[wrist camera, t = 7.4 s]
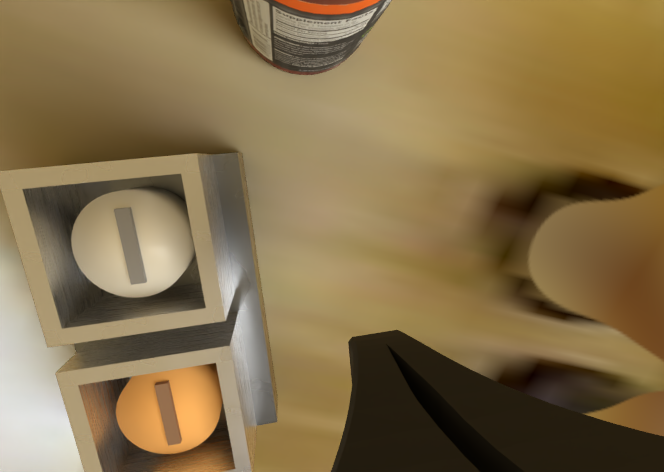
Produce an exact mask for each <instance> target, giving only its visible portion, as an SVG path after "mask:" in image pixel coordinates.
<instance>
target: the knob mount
mask: <svg viewBox="0 0 664 472" xmlns="http://www.w3.org/2000/svg"><path fill="white" fill-rule="evenodd" d="M136 187H156V188H161V189H164V190H167V191H169V192H171V193H174V194H175V195H177V196H178V197H180V198H181V199H182V200H184V201H185V202H186V203H187V208H188V214H189V219H190V225H191V230H192V236H193V241H194V246H195V252H196V257H195V259H194V260H193V262H192V263H191V264H190V265H189V267H188V268H187V269H186V270H185V271H184V273H183V274H182V275H181V276H180V277H179V279H178V280H177V281H176V282H175V283H174V284H172V285H171V286H170V287H169V288H167V289H165V290H164V291H162V292H160V293H157V294H154V295H151V296H147V297H138V298H132V297H123V296H118V295H115V294H112V293H109V292H107V291H105V290H103V289H101V288H99V287H98V286H97V285H95V284H94V283H93V282H91V281H90V280H89V279H88V278H87V277H86V276H85V275H84V273H83V272H82V271H81V269H80V268H79V266H78V264H77V262H76V260H75V257H74V254H73V250H72V243H71V237H72V230H73V226H74V223H75V221H76V219H77V217H78V215H79V214H80V212H81V211H82V210H83V209H84V208H85V206H87V205H88V204H89V203H90V202H91V201H93V200H94V199H96V198H98V197H100V196H102V195H104V194H107V193H111V192H115V191H120V190H126V189H131V188H136ZM0 189H1V192H2V196H3V199H4V202H5V206H6V209H7V212H8V216H9V219H10V223H11V226H12V229H13V233H14V236H15V239H16V243H17V246H18V249H19V253H20V256H21V260H22V263H23V266H24V270H25V273H26V276H27V280H28V283H29V286H30V290H31V293H32V297H33V300H34V303H35V307H36V310H37V313H38V317H39V320H40V323H41V327H42V330H43V334H44V337H45V340H46V344H47V347H54V346H61V345H68V344H74V345H75V349H76V352H77V353H76V354H75V355H74V356H73V357H72V358H71V359H70V360H69V361H67V362H66V363H65V364H64V365H63V366H62V367H61V368H60V369H59V370H58V371H57V372H56V373H55V374H56V377H57V381H58V384H59V387H60V391H61V394H62V397H63V401H64V404H65V407H66V411H67V414H68V418H69V421H70V424H71V428H72V431H73V434H74V438H75V441H76V444H77V448H78V451H79V455H80V458H81V461H82V465H83V468H84V471H85V472H253V468H254V455H255V442H256V429H257V425H262V424H268V423H273V422H277V391H276V384H275V377H274V370H273V363H272V356H271V349H270V342H269V335H268V329H267V322H266V315H265V308H264V301H263V294H262V287H261V280H260V273H259V267H258V260H257V253H256V246H255V239H254V232H253V225H252V218H251V211H250V205H249V198H248V191H247V184H246V177H245V170H244V163H243V156H242V153H238V152H236V153H225V154H214V155H211V154H200V153H194V154H183V155H172V156H161V157H150V158H139V159H128V160H117V161H106V162H94V163H83V164H72V165H61V166H50V167H39V168H28V169H17V170H6V171H0ZM212 363H216V366H217V371H218V377H219V382H220V388H221V393H222V398H223V403H222V408H221V412H220V416H219V420H218V423H217V426H216V427H215V429H214V431H213V432H212V434H211V435H210V436H209V437H208V438H207V439H206V440H205V441H204V442H202V443H201V444H199V445H198V446H196V447H194V448H192V449H190V450H187V451H184V452H180V453H174V454H159V453H153V452H150V451H146V450H144V449H142V448H140V447H138V446H136V445H134V444H133V443H132V442H131V441H129V440H128V439H127V438H126V437H125V435H124V434H123V432H122V431H121V429H120V427H119V425H118V422H117V417H116V406H117V402H118V399H119V396H120V394H121V392H122V391H123V389H124V388H125V386H126V385H127V383H128V382H129V380H130V379H131V377H132V376H138V375H144V374H150V373H156V372H162V371H169V370H175V369H181V368H187V367H193V366H199V365H205V364H212Z"/></svg>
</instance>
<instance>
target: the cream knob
mask: <svg viewBox="0 0 664 472" xmlns="http://www.w3.org/2000/svg"><path fill="white" fill-rule="evenodd" d="M71 243H72V250H73V254H74V257H75V260H76V262H77V264H78V266H79V268H80V269H81V271H82V272H83V273H84V275H85V276H86V277H87V278H88V279H89V280H90V281H91V282H93V283H94V284H95V285H97V286H98V287H99V288H101V289H103V290H105V291H107V292H109V293H112V294H115V295H118V296H123V297H132V298H138V297H147V296H151V295H154V294H157V293H160V292H162V291H164V290H165V289H167V288H169V287H170V286H171V285H172V284H174V283H175V282H176V281H177V280H178V279H179V277H180V276H181V275H182V274H183V273H184V271H185V270H186V269H187V268H188V267H189V265H190V264H191V263H192V262H193V260H194V259H195V257H196V252H195V246H194V241H193V236H192V230H191V225H190V219H189V214H188V208H187V203H186V202H185V201H184V200H182V199H181V198H180V197H178V196H177V195H175V194H174V193H171V192H169V191H167V190H164V189H161V188H156V187H136V188H131V189H126V190H120V191H115V192H111V193H107V194H104V195H102V196H100V197H98V198H96V199H94V200H93V201H91V202H90V203H89V204H88V205H87V206H85V208H84V209H83V210H82V211H81V212H80V214H79V215H78V217H77V219H76V221H75V223H74V226H73V230H72V237H71Z"/></svg>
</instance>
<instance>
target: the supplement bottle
mask: <svg viewBox="0 0 664 472" xmlns="http://www.w3.org/2000/svg"><path fill="white" fill-rule="evenodd" d="M230 1H231V4H232V7H233V11H234V14H235V17H236V20H237V23H238V25H239V26H240V28H241V30H242V32H243V34H244V36H245V38H246V40H247V41H248V42H249V44H250V45H251V47H252V48H253V49H254V50H255V51H256V52H257V53H258V54H259V55H260V56H261V57H262V58H263V59H264V60H266V61H267V62H268V63H270V64H272V65H273V66H274V67H277V68H278V69H281V70H283V71H286V72H289V73H294V74H299V75H313V74H318V73H322V72H326V71H328V70H331V69H333V68H335V67H337V66H339V65H340V64H341V63H342V62H344V61H345V60H346V59H347V58H348V57H349V56H350V55H351V54H352V53H353V52H354V51H355V50H356V49H357V48H358V47H359V45H360V44H361V42H362V41H363V40H364V38H365V37H366V36H367V34H368V33H369V31H370V30H371V29H372V27H373V26H374V24H375V23H376V22H377V20H378V19H379V18H380V16H381V15H382V14H383V12H384V11H385V9H386V8H387V7H388V5H389V4H390V2H391V1H392V0H230Z"/></svg>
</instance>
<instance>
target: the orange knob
mask: <svg viewBox="0 0 664 472" xmlns="http://www.w3.org/2000/svg"><path fill="white" fill-rule="evenodd" d="M222 403H223V398H222V393H221V388H220V382H219V377H218V371H217V366H216V363H212V364H205V365H199V366H193V367H187V368H181V369H175V370H169V371H162V372H156V373H150V374H144V375H138V376H132V377H131V379H130V380H129V382H128V383H127V385H126V386H125V388H124V389H123V391H122V392H121V394H120V396H119V399H118V402H117V406H116V417H117V422H118V425H119V427H120V429H121V431H122V432H123V434H124V435H125V437H126V438H127V439H128V440H129V441H131V442H132V443H133V444H134V445H136V446H138V447H140V448H142V449H144V450H146V451H150V452H153V453H159V454H174V453H180V452H184V451H187V450H190V449H192V448H194V447H196V446H198V445H199V444H201V443H202V442H204V441H205V440H206V439H207V438H208V437H209V436H210V435H211V434H212V432H213V431H214V429H215V427H216V426H217V423H218V420H219V416H220V412H221V408H222Z"/></svg>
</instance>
